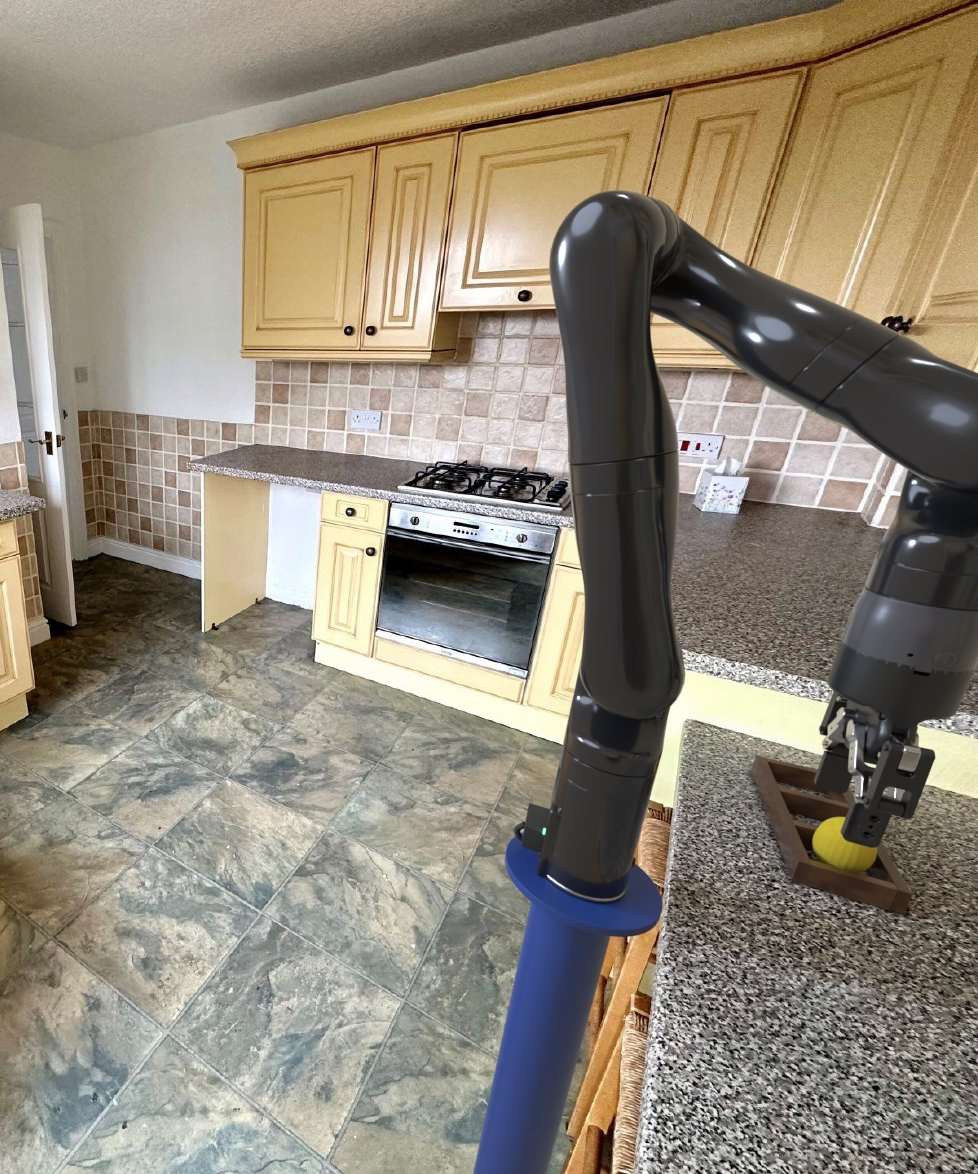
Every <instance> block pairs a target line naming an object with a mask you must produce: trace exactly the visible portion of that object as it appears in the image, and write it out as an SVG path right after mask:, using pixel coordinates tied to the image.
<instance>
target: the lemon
mask: <svg viewBox="0 0 978 1174" xmlns="http://www.w3.org/2000/svg"><path fill="white" fill-rule="evenodd" d="M845 818H846V817H833V818H830V819H827V820H825V821H822V822H821V823H820V824H819V825H818V828H817V830H816V831H815V833H814V836H813V841H812V844H813V850H812V851H813V853H814V854H815V856H816V857H817V859H818V860H819V862H821V863H824V864H828V865H831V866H835V867H838V868H842V869H845V870H849V871H852V872H855V873H859V874H861V873H863V872H865V871H868V868H869V867H870V866H871V865H872V864H873V863H874V861H875V859H876V856H877V847H875V848H870V847H866V846H863V845H859V844H855V843H851V842H848V841H846V840H845V839H844V838H843V836H842V834H841V829H842V826H843V823H844V821H845Z"/></svg>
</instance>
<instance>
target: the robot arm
mask: <svg viewBox="0 0 978 1174" xmlns="http://www.w3.org/2000/svg"><path fill="white" fill-rule="evenodd" d="M548 269H549V270H548V271H549V279H550V286H551V292H552V296H553V297H552V298H553V302H554V308H555V313H556V318H557V324H558V330H559V336H560V341H561V348H562V355H563V364H564V383H565V384H564V387H565V388H564V389H565V392H564V393H565V412H566V429H567V430H566V431H567V432H566V433H567V463H568V478H569V479H568V480H569V494H570V495H569V496H570V503H571V511H572V521H573V522H572V523H573V530H574V535H575V537H574V538H575V542H576V549H577V555H578V559H579V565H580V570H581V576H582V582H583V594H584V614H583V615H584V616H583V637H582V647H581V656H580V660H579V665H578V666H579V667H578V672H577V675H576V681H575V685H574V691H573V694H572V695H573V696H572V699H571V703H570V708H569V712H568V717H567V722H566V726H565V733H564V736H563V743H562V748H561V753H560V758H559V761H558V765H557V771H556V776H555V780H554V785H553V786H552V789H551V793H550V799H549V803H548V807H546V806H545V807H544V806H541V805H538V804H536V803H531V802H529V803H528V806H527V811H526V817H525V821H521V822H520V823H517V824H516V825H514V828H513V833H514V837H515V836H516V837H517V838H518V840H519V841H520V842H521V847H524V848H527V849H530V850H533V851H536V852H539V855H538V860H537V862H538V865H537V873H536V874H537V875H538V876H540V877H542V878H545V879H547V880H548V881H549V882H550V883H551V884H553V885H554V886H555V887H557V888H558V889H560V890H561V891H563V892H565V893H566V894H568V895H570V896H573V897H575V898H577V899H580V900H583V901H587V902H591V903H597V904H610V903H615V902H617V901H619V900H621V899H622V898H623V897H624V895H625V892H626V889H627V883H628V879H629V873H630V870H631V866H632V867H633V869H634V865H635V863H636V861H637V859H636V857H635V855H636V851H637V847H638V844H639V839H640V836H641V833H642V829H643V825H644V821H645V818H646V814H647V811H648V807H649V803H650V800H651V795H652V792H653V788H654V785H655V782H656V777H657V773H658V770H659V767H660V762H661V759H662V755H663V751H664V745H665V737H666V731H667V730H666V729H667V724H668V719H669V714H670V711H671V707H672V706H673V705H674V703H675V702H676V701H677V700H678V698H679V697H680V695H681V693H682V692H683V689H684V686H685V683H686V668H685V660H684V652H683V649H682V645H681V644H680V641H679V639H678V638H677V637H678V636H677V632H676V625H675V618H674V610H673V600H672V577H673V567H674V560H675V552H676V544H677V534H678V523H679V510H680V509H679V505H680V454H679V453H680V451H679V448H680V447H679V438H678V437H679V436H678V429H677V424H676V420H675V417H674V412H673V409H672V405H671V401H670V399H669V396H668V393H667V390H666V388H665V385H664V382H663V380H662V376H661V373H660V371H659V368H658V365H657V362H656V358H655V353H654V350H653V341H652V330H651V329H652V328H651V321H652V319H651V318H652V317H651V316H652V314H653V315H656V316H658V317H661V318H663V319H665V320H668V321H670V322H672V323H674V324H676V325H678V326H680V327H682V328H683V329H686V330H687V331H689V332H690V333H692V334H694V335H695V336H697V337H698V338H700V339H701V340H702V341H704V342H705V343H707V344H708V345H709V346H711V347H712V348H713V349H714V350H716V351H718V352H719V353H720V354H721V355H722V356H723V357H725V358H726V359H728V360H729V362H731V363H732V364H734V365H735V366H736V367H738V368H739V369H740V370H742V372H744V373H746V374H747V375H749V376H750V377H751V378H753V379H754V380H756V381H757V382H758V383H760V384H762V385H763V386H765V387H766V388H768V389H770V390H772V391H774V392H775V393H777V394H779V395H780V396H782V397H784V398H785V399H787V400H789V401H791V402H792V403H794V404H796V405H798V406H800V407H801V408H803V409H805V410H807V411H808V412H810V413H813V414H814V415H816V416H817V417H820V418H822V419H824V420H826V421H828V422H830V423H833V424H835V425H837V426H840V427H842V428H844V429H847V430H848V431H850V432H852V433H853V434H854V435H856V436H857V437H859V439H861V440H863V441H864V442H866V443H867V444H869V446H871V447H873V448H875V449H876V450H877V451H879V452H880V453H882V454H883V455H885V456H886V457H887V458H889V459H891V461H894V462H896V463H897V464H898V465H900V466H902V467H903V468H905V469H906V470H907V471H906V474H905V478H904V482H903V485H902V488H901V492H900V494H899V498H898V502H897V505H896V510H895V515H894V517H893V519H892V521H891V523H890V525H889V526H888V528H887V530H886V531H885V533H884V535H883V537H882V539H881V541H880V543H879V545H878V547H877V550H876V552H875V554H874V557H873V560H872V563H871V566H870V569H869V572H868V574H867V577H866V580H865V583H864V586H863V588H862V591H861V593H860V594H859V597H858V599H857V600H856V601H855V603H854V605H853V607H852V609H851V611H850V613H849V616H848V619H847V622H846V625H845V628H844V631H843V633H842V637H841V639H840V642H839V645H838V647H837V651H836V654H835V656H834V659H833V662H832V665H831V668H830V670H829V674H828V677H827V680H826V683H827V685H828V687H829V688H830V689H831V690H832V694H831V697H830V700H829V703H828V705H827V707H826V710H825V712H824V715H823V718H822V721H821V724H820V725H819V727H818V731H819V735H821V736H825V737H824V738H823V739H822V742H821V746H822V749H823V750H824V751H823V753H822V755H821V759H820V762H819V764H818V767H817V773H816V775H815V778H814V782H815V784H816V786H817V787H818V788H820V789H824V790H828V791H832V792H836V793H845V792H847V790H848V788H849V789H850V786H851V782H852V780H853V777H854V779H855V781H854V793H853V796H854V799H853V800H852V803H851V805H850V808H849V811H848V813H847V816H846V818H845V821H844V823H843V826H842V829H841V834H842V836H843V838H844V839H845V840H846V841H848V842H851V843H855V844H859V845H863V846H866V847H870V848H875V847H878V846H879V845H880V842H882V840H883V837H884V835H885V833H886V830H887V828H888V825H889V822H890V821H891V818H892V816H894V817H899V818H902V819H906V820H912V818H914V815H915V812H916V809H917V807H918V805H919V803H920V799H921V797H922V794H923V791H924V790H925V789H924V788H925V787H926V784H927V780H928V779H929V775H930V773H931V770H932V767H933V766H934V763H935V760H936V752H935V750H934V749H931V748H927V747H922V746H920V745H919V744H920V743H919V742H920V736H919V733H918V729H919V727H918V726H919V724H920V723H922V722H926V721H930V720H935V721H941V720H946V719H949V718H952V717H954V716H955V715H956V714H957V713H958V710H959V709H960V705H961V704H962V701H963V698H964V696H965V694H966V692H967V690H968V687H969V684H970V683H971V680H972V677H973V675H974V673H975V671H976V669H977V666H978V372H977V371H974V370H972V369H969V368H966V367H964V366H963V365H959V364H956V363H954V362H952V361H948V360H947V359H945V358H941V357H939V356H937V355H936V354H934V353H933V352H932V351H931V350H929V349H928V348H926V347H924V346H923V345H921V344H920V343H918V342H917V341H915V340H914V339H911V338H910V337H908V336H906V335H904V334H901V333H900V332H898V331H896V330H894V329H892V328H890V327H888V326H886V325H883V324H881V323H879V322H877V321H875V320H873V319H871V318H869V317H866V316H865V315H862V314H861V313H858V312H856V311H854V310H851V309H849V308H847V307H845V306H843V305H840V304H838V303H836V302H834V301H831V300H829V299H826V298H824V297H822V296H819V295H817V294H815V293H812V292H809V291H807V290H804V289H802V288H800V287H797V286H795V285H793V284H790V283H787V282H786V281H783V280H781V279H779V278H776V277H773V276H771V275H770V274H768V273H764V272H762V271H760V270H758V269H756V268H754V267H753V266H750V265H749V264H747V263H745V262H743V261H742V260H740V259H738V258H736V257H734V256H733V255H731V254H730V253H728V252H726V251H725V250H723V249H722V248H720V246H717V245H716V244H714V243H713V242H711V241H710V240H709V239H708V238H707V237H705V236H704V235H703V234H701V233H700V232H699V231H697V230H696V229H695V228H694V227H692V226H691V225H690V224H689V223H688V222H686V221H685V220H684V219H683V218H682V217H680V216H679V215H678V214H677V213H675V211H674V210H673V209H672V208H671V206H670V205H669V204H667V203H665V202H664V201H663V200H661V199H658V198H655V197H652V196H648V195H645V194H642V193H639V192H636V191H635V192H634V191H630V190H621V189H619V190H605V191H601V192H597V193H595V194H593V195H590V196H588V197H586V198H585V199H583V200H582V201H580V202H579V203H577V204H576V205H575V206H574V207H573V208H572V209H571V210H570V211H569V213H567V215H566V216H565V217H564V219H563V220H562V222H561V223H560V225H559V226H558V228H557V230H556V233H555V235H554V237H553V240H552V243H551V247H550V250H549V260H548ZM869 764H870V765H875V767H873V766H870V765H869ZM886 788H887V795H885V794H884V792H885V789H886ZM521 831H523V836H522V834H521V833H522V832H521Z"/></svg>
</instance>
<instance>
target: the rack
mask: <svg viewBox="0 0 978 1174" xmlns="http://www.w3.org/2000/svg"><path fill="white" fill-rule="evenodd" d="M817 770H818V768H817V769H816V768H812V767H808V766H804V765H799V764H795V763H791V762H787V761H783V760H779V759H774V758H769V757H765V756H762V755H761V756H760V755H757V754H756V755H755V756H754V760H753V763H752V766H751V769H750V773H751V774H750V775H751V777H752V779H753V782H754V784H755V787H756V789H757V792H758V795H759V797H760V800H761V804H762V805H763V808H764V811H765V814H766V816H767V818H768V822H769V824H770V826H771V830H772V832H773V835H774V837H775V840H776V843H777V846H778V849H779V851H780V853H781V856H782V859H783V862H784V864H785V866H786V869H787V872H788V875H789V877H790V880H791V882H794V883H797V884H801V885H804V886H806V887H807V886H808V887H811V888H814V889H816V890H817V889H818V890H821V891H824V892H827V893H830V894H834V895H837V896H841V897H844V898H847V899H850V900H853V901H858V902H861V903H864V904H868V905H871V906H874V907H877V908H879V909H884V910H887V911H889V912H894V913H897V914H901V915H905V913H906V911H907V909H908V906H909V904H910V902H911V900H912V897H913V895H914V894H913V893H912V891H911V888H910V887H909V886H908V884H907V882H906V880H905V879H904V877H903V876H902V874H901V872H900V871H899V869H898V867H897V866H896V864H895V862H894V860H893V859H892V857H891V856H890V854H889V852H888V850H887V849H886V847H885V846H884V844H883V841H881V842H880V845H879V846H878V847H877V856H876V859H875V861H874V863H873V864H872V865H871V866H870V867H869V868H868V869H867V871H868V873H869V875H870V876H869V875H866V874H862V873H855V872H852V871H849V870H845V869H842V868H838V867H835V866H831V865H828V864H824V863H822V862H821V861H817V860H814V859H810V858H809V856H808V853H807V851H806V849H807V850H811V851H814V850H813V844H812V841H813V836H814V833H815V831H816V830H817V828H818V827H819V825H818V826H817V825H814V824H810V823H808V822H807V823H806V822H802V821H799V820H796V819H793V818H792V816H791V814H790V813H794V814H797V815H800V816H804V817H808V818H811V819H815V820H820V821H822V822H824V821H825V820H827V819H830V818H833V817H846V816H847V813H848V811H849V808H850V805H851V803H852V800H853V799H854V793H852V791H851V789H850V787H849V788H848V790H847V792H845V793H836V792H832V791H828V790H824V789H820V788H818V787H817V786H816V784H815V782H814V778H815V775H816V773H817ZM777 782H779V783H783V784H788V785H791V786H796V787H799V788H802V789H803V788H804V789H807V790H810V791H816V792H819V793H824V794H826V795H827V796H828V798H827V797H824V796H823V797H822V796H818V795H815V794H811V793H807V792H802V791H799V790H795V789H790V788H787V787H782V786H778V783H777Z"/></svg>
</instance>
